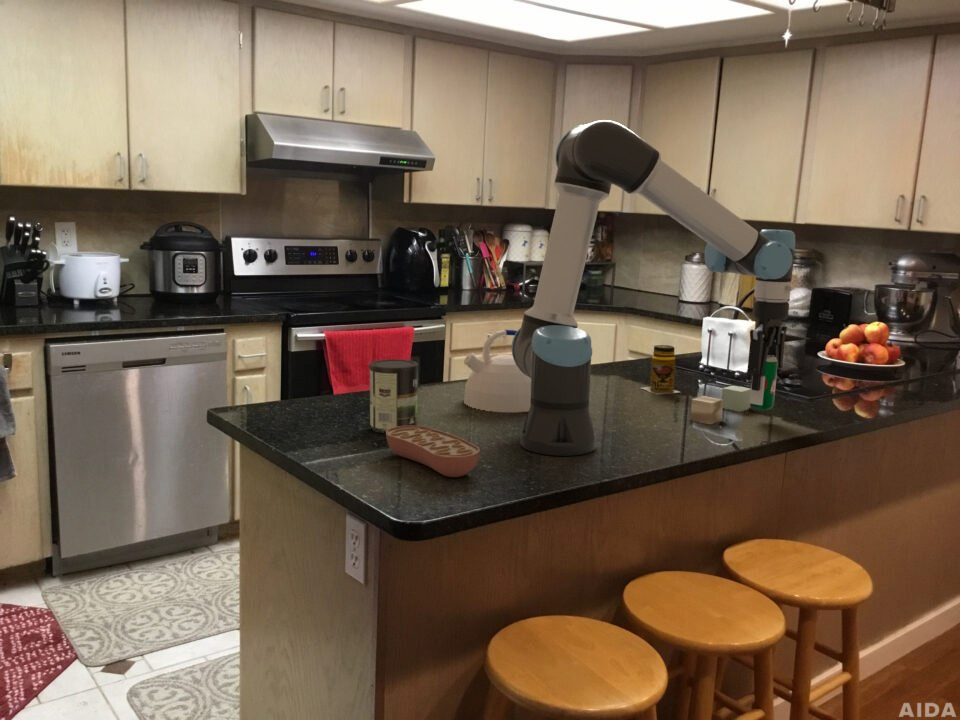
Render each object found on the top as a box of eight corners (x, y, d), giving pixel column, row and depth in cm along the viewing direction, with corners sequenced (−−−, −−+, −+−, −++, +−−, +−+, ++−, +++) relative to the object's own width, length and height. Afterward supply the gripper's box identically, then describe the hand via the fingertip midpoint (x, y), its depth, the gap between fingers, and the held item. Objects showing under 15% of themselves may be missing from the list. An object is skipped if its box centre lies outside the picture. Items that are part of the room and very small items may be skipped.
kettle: (451, 396, 210) (452, 324, 207) (528, 392, 217) (531, 322, 213) (476, 415, 191) (477, 337, 188) (560, 410, 198) (563, 334, 194)
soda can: (774, 411, 188) (779, 358, 185) (751, 409, 189) (756, 356, 186) (771, 405, 192) (776, 354, 190) (748, 404, 193) (753, 352, 191)
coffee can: (415, 421, 185) (415, 358, 182) (419, 434, 175) (420, 367, 172) (368, 422, 183) (368, 358, 181) (370, 435, 173) (369, 368, 171)
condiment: (658, 395, 215) (661, 349, 213) (639, 388, 223) (641, 343, 221) (681, 393, 218) (684, 347, 216) (661, 386, 226) (664, 342, 224)
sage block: (740, 412, 199) (741, 391, 199) (721, 408, 203) (722, 388, 202) (750, 408, 203) (751, 388, 202) (731, 405, 206) (732, 385, 205)
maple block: (710, 424, 187) (711, 403, 186) (690, 420, 191) (691, 399, 190) (721, 421, 191) (722, 399, 190) (701, 416, 194) (702, 395, 193)
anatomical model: (376, 455, 161) (376, 429, 160) (419, 446, 167) (419, 422, 166) (448, 488, 143) (448, 459, 142) (492, 477, 149) (493, 450, 148)
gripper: (769, 304, 177) (759, 411, 181) (805, 299, 190) (795, 399, 194) (736, 300, 182) (727, 405, 186) (773, 296, 195) (764, 393, 199)
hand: (761, 402), depth 190 cm, fingers closed on soda can, 5 cm apart
